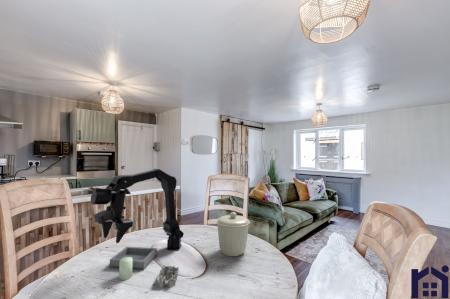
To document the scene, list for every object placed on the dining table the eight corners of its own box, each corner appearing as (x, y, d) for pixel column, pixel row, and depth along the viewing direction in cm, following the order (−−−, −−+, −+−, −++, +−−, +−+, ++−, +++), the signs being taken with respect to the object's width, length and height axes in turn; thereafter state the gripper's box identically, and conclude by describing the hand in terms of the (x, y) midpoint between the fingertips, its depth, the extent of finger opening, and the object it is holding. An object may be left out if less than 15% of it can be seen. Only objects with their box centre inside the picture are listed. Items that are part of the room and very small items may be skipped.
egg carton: (174, 288, 84) (174, 278, 84) (155, 288, 84) (155, 277, 84) (180, 273, 95) (180, 263, 95) (162, 273, 95) (163, 263, 95)
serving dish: (156, 255, 110) (156, 248, 110) (143, 269, 96) (144, 261, 96) (126, 253, 112) (126, 246, 112) (109, 267, 98) (109, 259, 98)
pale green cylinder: (134, 273, 93) (134, 257, 93) (128, 280, 88) (128, 263, 88) (123, 273, 94) (123, 256, 94) (116, 279, 89) (116, 262, 89)
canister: (231, 264, 103) (232, 219, 103) (208, 250, 117) (209, 211, 117) (256, 253, 115) (257, 213, 115) (233, 242, 129) (233, 206, 129)
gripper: (87, 201, 95) (80, 238, 93) (112, 208, 85) (105, 250, 83) (111, 200, 104) (105, 234, 103) (136, 207, 95) (130, 244, 93)
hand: (111, 240), depth 95 cm, fingers open, 9 cm apart
